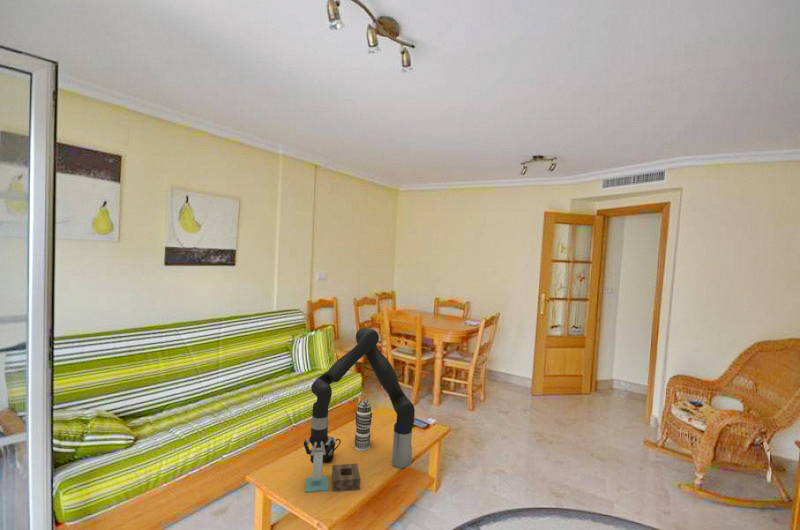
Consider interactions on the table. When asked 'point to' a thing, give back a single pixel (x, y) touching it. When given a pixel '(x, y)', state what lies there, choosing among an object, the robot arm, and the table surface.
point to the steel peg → (317, 463)
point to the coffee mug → (330, 455)
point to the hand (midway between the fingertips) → (317, 461)
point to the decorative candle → (363, 425)
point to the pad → (316, 484)
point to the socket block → (345, 477)
